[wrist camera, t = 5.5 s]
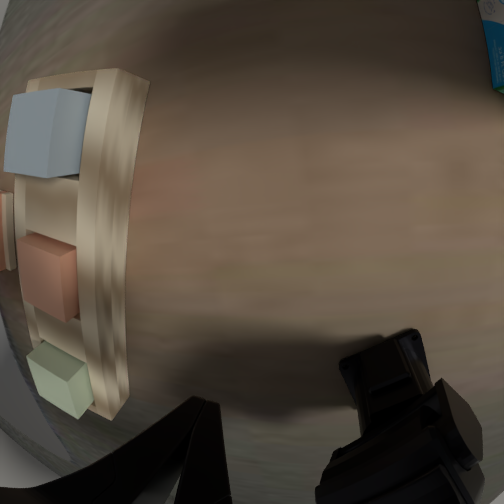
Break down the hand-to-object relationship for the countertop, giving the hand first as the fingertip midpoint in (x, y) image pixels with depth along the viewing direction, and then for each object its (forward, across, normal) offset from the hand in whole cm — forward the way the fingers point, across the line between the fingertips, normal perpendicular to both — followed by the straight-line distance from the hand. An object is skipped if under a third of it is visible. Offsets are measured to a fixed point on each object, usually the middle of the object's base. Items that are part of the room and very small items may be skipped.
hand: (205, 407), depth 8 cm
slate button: (+8, +14, -7) cm, 18 cm away
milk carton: (+12, -17, -22) cm, 30 cm away
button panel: (+12, +14, +3) cm, 19 cm away
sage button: (+8, +14, +13) cm, 21 cm away
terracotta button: (+10, +14, +3) cm, 18 cm away
